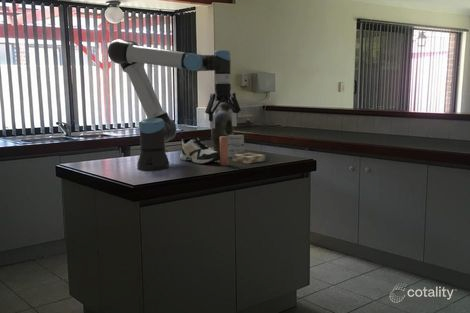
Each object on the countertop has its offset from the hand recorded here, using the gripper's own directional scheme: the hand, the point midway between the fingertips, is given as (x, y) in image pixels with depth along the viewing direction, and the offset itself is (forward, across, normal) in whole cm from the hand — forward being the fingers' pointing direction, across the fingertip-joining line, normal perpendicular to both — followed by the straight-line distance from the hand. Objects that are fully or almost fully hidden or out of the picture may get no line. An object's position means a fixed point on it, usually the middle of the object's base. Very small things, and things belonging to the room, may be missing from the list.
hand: (223, 127), depth 233 cm
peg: (+19, 0, 0) cm, 19 cm away
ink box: (+19, +21, +16) cm, 32 cm away
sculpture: (+19, +23, +30) cm, 42 cm away
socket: (+19, +17, +1) cm, 25 cm away
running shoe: (+19, -3, +17) cm, 26 cm away
